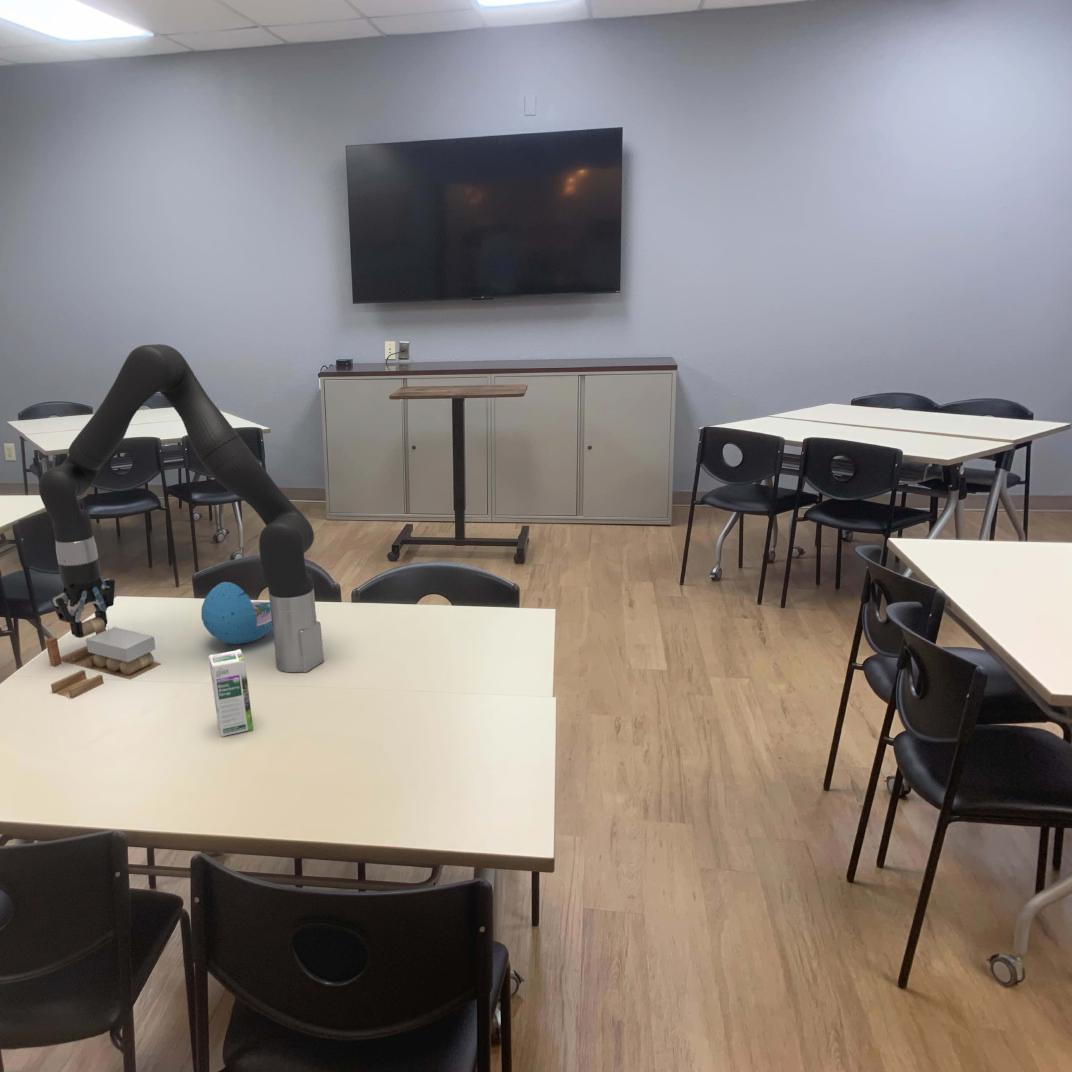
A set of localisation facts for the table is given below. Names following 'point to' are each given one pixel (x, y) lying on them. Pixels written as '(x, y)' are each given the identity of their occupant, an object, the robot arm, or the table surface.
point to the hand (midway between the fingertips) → (90, 631)
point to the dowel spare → (92, 626)
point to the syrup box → (231, 692)
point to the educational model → (235, 615)
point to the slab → (120, 644)
